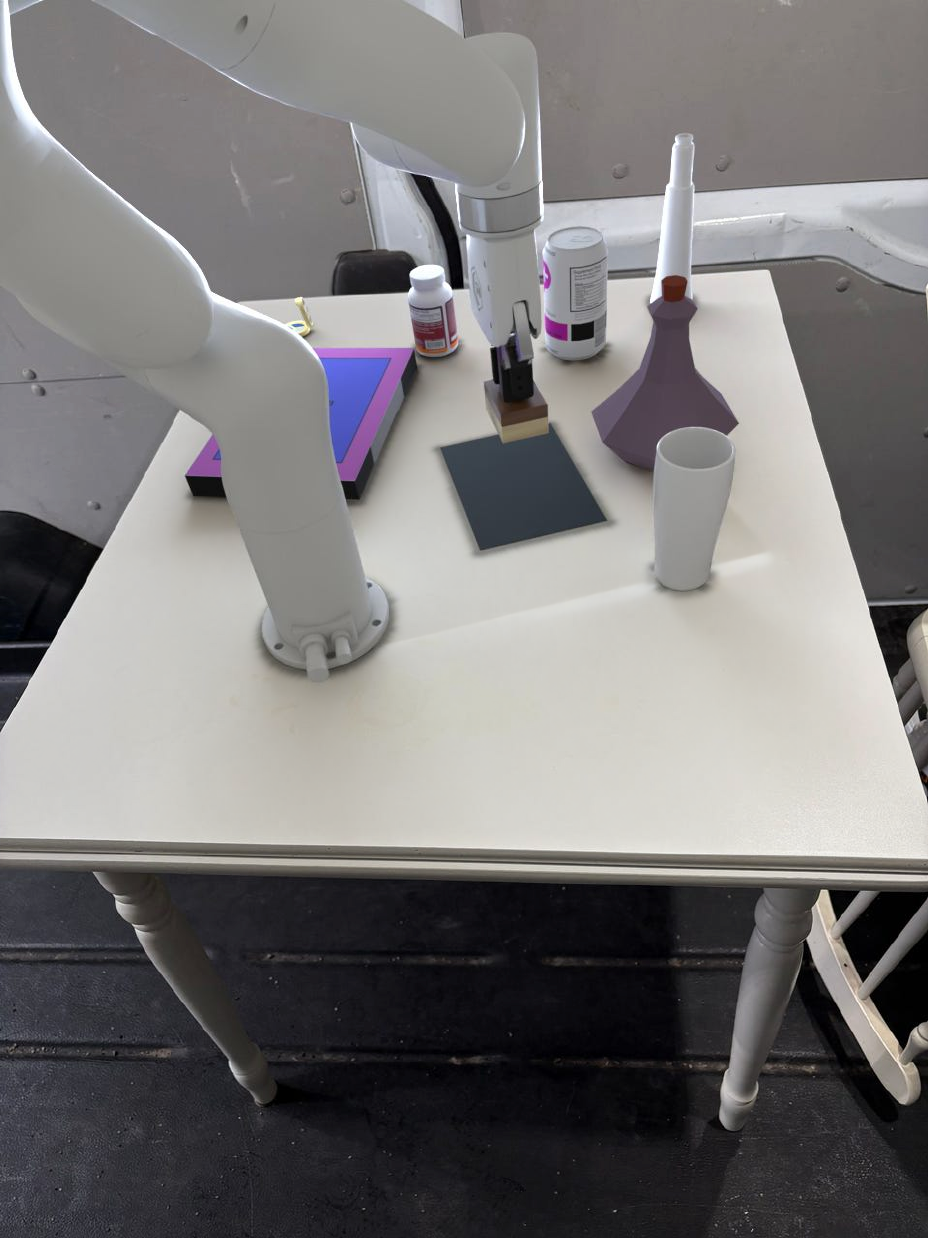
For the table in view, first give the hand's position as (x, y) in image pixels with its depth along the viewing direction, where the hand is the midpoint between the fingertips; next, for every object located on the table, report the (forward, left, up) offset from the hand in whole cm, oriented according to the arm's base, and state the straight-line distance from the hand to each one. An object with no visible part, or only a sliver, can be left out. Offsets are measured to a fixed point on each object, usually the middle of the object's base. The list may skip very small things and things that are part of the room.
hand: (513, 387), depth 87 cm
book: (+21, +22, -12) cm, 33 cm away
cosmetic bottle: (+34, -33, -12) cm, 49 cm away
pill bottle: (+35, +2, -12) cm, 37 cm away
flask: (0, -17, -12) cm, 21 cm away
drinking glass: (-20, -11, -12) cm, 26 cm away
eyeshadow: (+49, +21, -12) cm, 55 cm away
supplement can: (+27, -16, -12) cm, 34 cm away
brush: (0, 0, -4) cm, 4 cm away
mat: (0, 0, -12) cm, 12 cm away
